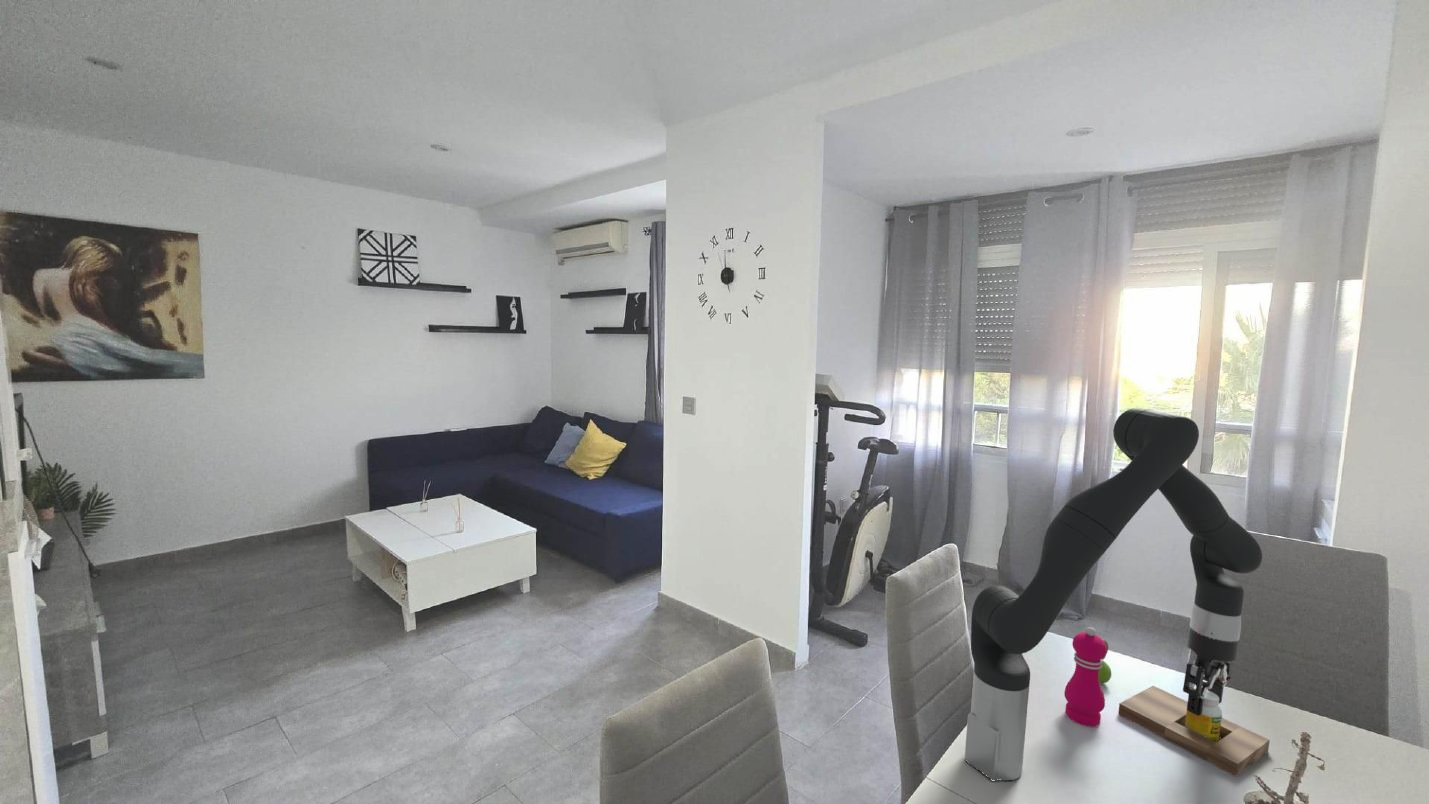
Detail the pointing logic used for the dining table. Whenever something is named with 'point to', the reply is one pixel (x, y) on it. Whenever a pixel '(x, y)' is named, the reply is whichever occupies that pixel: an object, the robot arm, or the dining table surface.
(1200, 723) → the supplement bottle
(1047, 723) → the dining table surface
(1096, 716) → the pepper mill
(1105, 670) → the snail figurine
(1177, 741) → the collar plate
